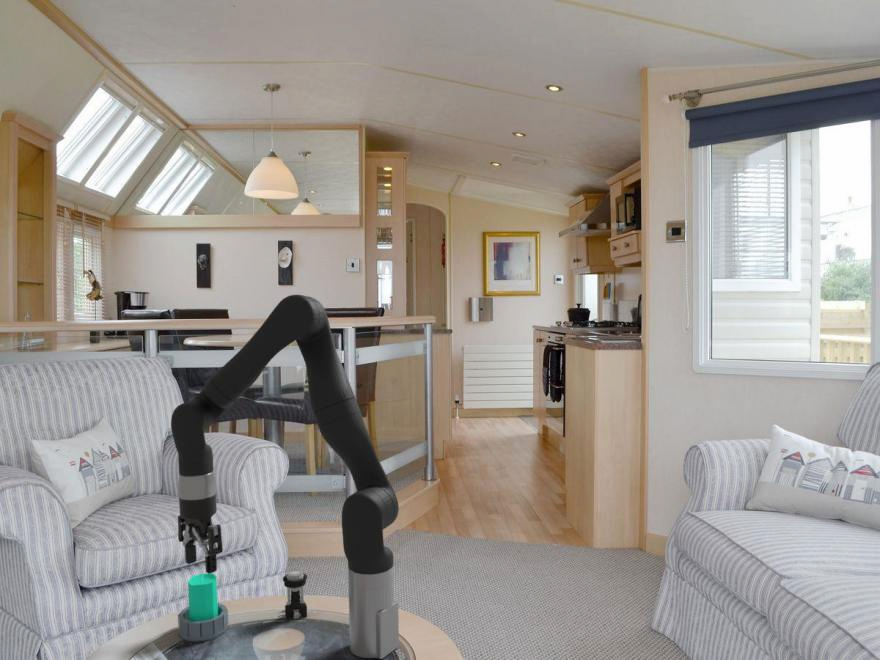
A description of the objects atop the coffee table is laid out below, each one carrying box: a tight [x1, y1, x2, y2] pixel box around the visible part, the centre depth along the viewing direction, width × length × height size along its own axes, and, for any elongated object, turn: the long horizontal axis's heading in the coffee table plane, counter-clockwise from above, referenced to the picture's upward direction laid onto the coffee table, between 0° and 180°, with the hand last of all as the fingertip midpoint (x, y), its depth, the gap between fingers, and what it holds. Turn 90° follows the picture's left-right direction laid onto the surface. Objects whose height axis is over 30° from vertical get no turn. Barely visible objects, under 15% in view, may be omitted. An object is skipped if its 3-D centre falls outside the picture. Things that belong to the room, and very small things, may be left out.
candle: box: [187, 571, 219, 621], centre depth 163 cm, size 6×6×12 cm
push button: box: [277, 569, 308, 620], centre depth 169 cm, size 7×5×10 cm
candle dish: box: [177, 602, 229, 643], centre depth 163 cm, size 10×10×4 cm
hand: (201, 567), depth 162 cm, fingers open, 8 cm apart
